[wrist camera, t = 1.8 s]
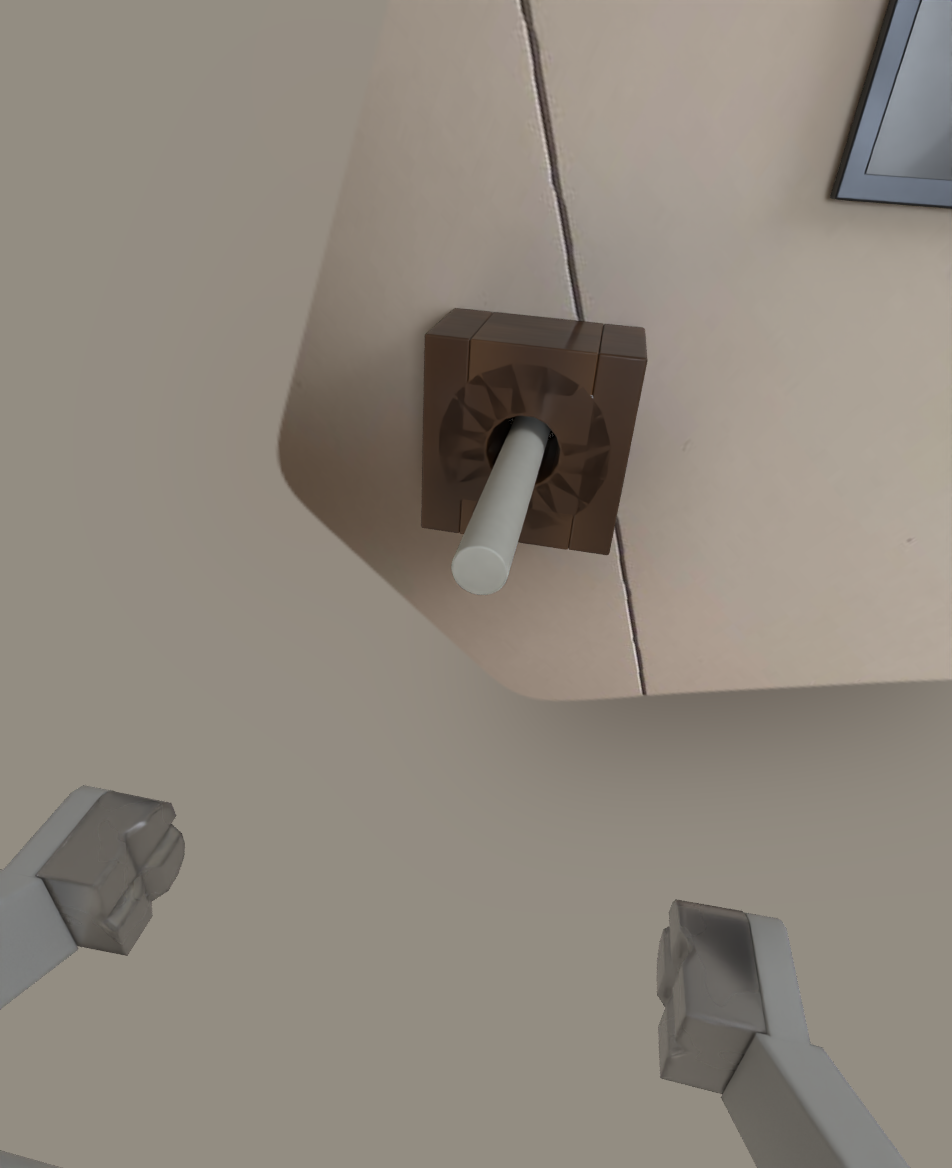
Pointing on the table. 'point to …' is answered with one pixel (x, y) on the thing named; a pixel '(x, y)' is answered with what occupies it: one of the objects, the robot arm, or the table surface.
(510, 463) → the stylus
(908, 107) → the tablet
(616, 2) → the table surface
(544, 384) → the pen block
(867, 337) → the table surface
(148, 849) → the robot arm
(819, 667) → the table surface
